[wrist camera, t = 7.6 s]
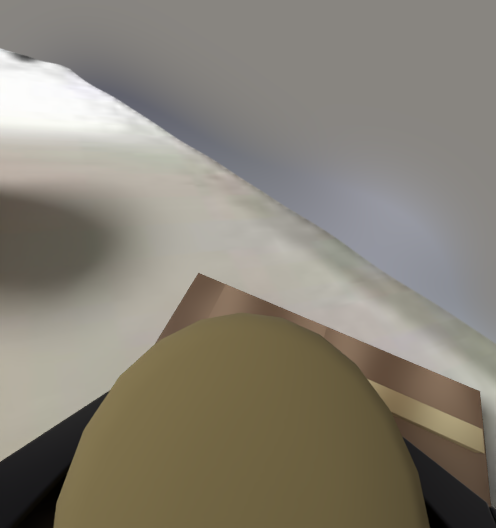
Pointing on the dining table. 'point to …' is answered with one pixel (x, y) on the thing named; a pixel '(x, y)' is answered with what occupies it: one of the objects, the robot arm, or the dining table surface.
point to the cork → (242, 438)
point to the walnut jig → (376, 384)
